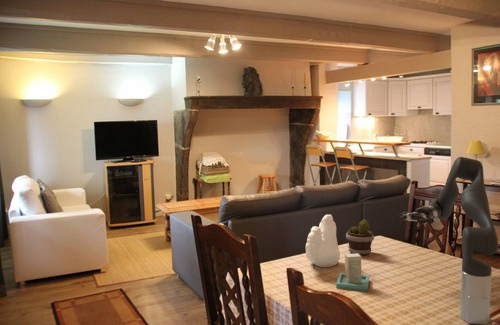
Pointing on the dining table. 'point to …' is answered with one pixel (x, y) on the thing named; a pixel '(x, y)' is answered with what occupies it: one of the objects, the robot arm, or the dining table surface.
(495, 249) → the robot arm
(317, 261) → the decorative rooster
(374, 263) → the dining table surface
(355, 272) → the skincare box
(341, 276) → the teal tray
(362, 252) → the flowerpot
